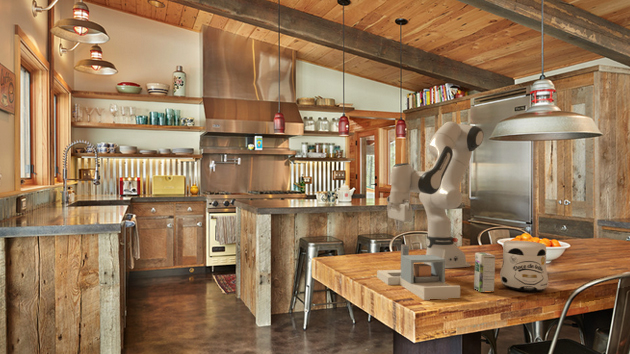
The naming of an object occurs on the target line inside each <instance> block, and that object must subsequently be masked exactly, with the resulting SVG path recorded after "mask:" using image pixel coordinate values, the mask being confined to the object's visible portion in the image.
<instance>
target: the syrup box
mask: <svg viewBox="0 0 630 354" xmlns="http://www.w3.org/2000/svg"><path fill="white" fill-rule="evenodd" d="M495 272H496V255H494V254H491V253H489V252H479V251H478V252H475V253H474V275H473V276H474V277H473V279H474V282H473V288H474V290H475V289H476V290H475V291H477V290H478V291H477V292H479V291H480V292H485V291H494V292H495V274H496V273H495ZM480 292H479V293H480Z"/></svg>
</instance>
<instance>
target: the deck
mask: <svg viewBox="0 0 630 354" xmlns="http://www.w3.org/2000/svg"><path fill="white" fill-rule="evenodd" d="M376 278H377V279H378V280H380V281H382V282H383V283H384V284H386V285H387V286H389V285H390V286H391V285H392V286H395V285H397V286H398V285H400V286H401V287H403V288H405V290H407V291H409V292H410V293H412V294H413V295H415V296H417V297H418V298H419V299H421V300H423V301H431V300H430V299H441V300H449V299H448V298H460V299H461V286H460V285H450V284H449V283H446V282H445V283H442V282H440V281H439V282H414V281H413V284H410V283H409V282H407V281H405V280H404V279H402V278H401V269H385V270H384V269H383V270H382V269H381V270H380V269H379V270H376Z"/></svg>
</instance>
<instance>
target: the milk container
mask: <svg viewBox="0 0 630 354" xmlns="http://www.w3.org/2000/svg"><path fill="white" fill-rule="evenodd" d="M502 247H503V248H502V249H503V250H502V251H503V252H502V265H501V269H500V273H499V276H500V282H501V284H502V285H503V286H505V287H506V288H509V289H512V290H516V291H521V292H540V291H544V290H546V289H547V288H548V285H549V274H548V271H547V246H546V244H544V243H540V242H536V241H534V242H533V241H526V240H506V241H504V242H503V245H502Z"/></svg>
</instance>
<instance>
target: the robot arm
mask: <svg viewBox="0 0 630 354" xmlns="http://www.w3.org/2000/svg"><path fill="white" fill-rule="evenodd" d="M484 136H485V135H484V131H483V129H482V128H480V127H479V126H475V125H473V126H472V125H470V124H464V123H457V122H455V121H452V120H451V121H447V122H445V123H443V124H442V125H441V126H440V127H439V128H438V129H437V130H436V132H434V134H433V135H432V137H431V138H430V140H429V141H428V142H429V143H428V150H429V152H430V153H431V155H432V156H433V157H434V158H436V160H435V161H434V163H433V165H432V167H431V169H429V170H426V171H425V170H423V171H422V170H420V171H419V170H416V169H415V168H413V167H412V166H411V165H410V164H411V163H409V162H401V163H395V164H394V165H393V166H392V168H391V174H390V186H391V188H390V191H389V192H390V193H389V195H388V196H387V197H386V202H387V205H386V206H387V210H386V211H387V217H388V219H389V218H390V219H391V220H392V219H393V220H394V223H395V230H397V231H403V225H404V223H411V222H412V221H413V208H412V205H411V192H412V193H419V195H418V198H419V199H418V200H419V201H420V203H421V204H422V206H423V208H424V210H425V214H426V219H427V235H426V251H425V252H426V253H425V255H435V256H438V257H440V258H443V259H445V269H454V268H455V269H456V268H465V267H466V268H468V267H472V266H471V263H470V262H468V261H467V258H466V254H465V253H464V251H463V250H462V249H460V248H459V247H458V246H457V245H455V243H458V241H459V239H458V238H457V237H452V236H451V235H452V233H451V229H452V227H451V226H452V225H451V224H452V222H451V220H450V217H448V215H447V212H446V210H453V209H457V208H458V207H459V206H461V204H462V201H463V195H462V193H461V191H460V190H461V189H460V187H461V182H462V179H463V177H464V175H465V172H466V170H467V168H468V167H469V165H470V162H471V157H472V152H473V151H475V150H476V149H478V148H479V147H480V146H481V144H482V143H483V140H484ZM425 263H426V264H428V265H430V266H431V262H425ZM425 263H423V264H425Z"/></svg>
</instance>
